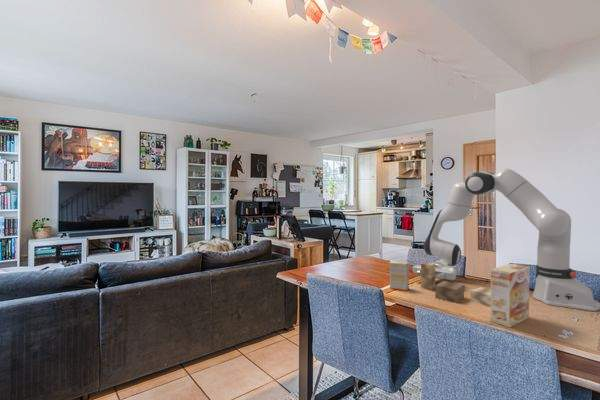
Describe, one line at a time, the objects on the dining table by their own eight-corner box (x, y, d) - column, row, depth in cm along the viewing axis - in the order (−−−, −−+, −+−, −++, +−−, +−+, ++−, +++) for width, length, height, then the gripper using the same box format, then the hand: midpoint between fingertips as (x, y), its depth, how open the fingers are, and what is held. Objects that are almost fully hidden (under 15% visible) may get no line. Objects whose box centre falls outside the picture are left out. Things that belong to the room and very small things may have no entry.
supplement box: (409, 288, 160) (409, 261, 159) (406, 291, 156) (406, 263, 155) (392, 286, 164) (392, 260, 164) (389, 288, 160) (389, 262, 159)
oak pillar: (435, 287, 160) (435, 263, 159) (431, 290, 156) (431, 265, 156) (425, 285, 163) (425, 262, 163) (420, 288, 160) (420, 263, 159)
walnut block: (464, 298, 145) (464, 284, 145) (456, 303, 139) (456, 289, 139) (443, 293, 152) (443, 280, 152) (435, 298, 145) (435, 285, 145)
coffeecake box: (510, 328, 114) (510, 272, 113) (489, 321, 120) (489, 268, 119) (530, 318, 122) (530, 266, 121) (509, 312, 128) (509, 262, 127)
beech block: (499, 303, 138) (500, 291, 138) (489, 307, 134) (490, 295, 134) (480, 298, 145) (481, 287, 145) (470, 301, 141) (470, 290, 140)
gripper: (419, 260, 176) (407, 265, 166) (459, 266, 162) (448, 272, 152) (419, 272, 176) (407, 277, 166) (459, 279, 162) (448, 285, 152)
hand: (427, 275), depth 159 cm, fingers open, 8 cm apart
